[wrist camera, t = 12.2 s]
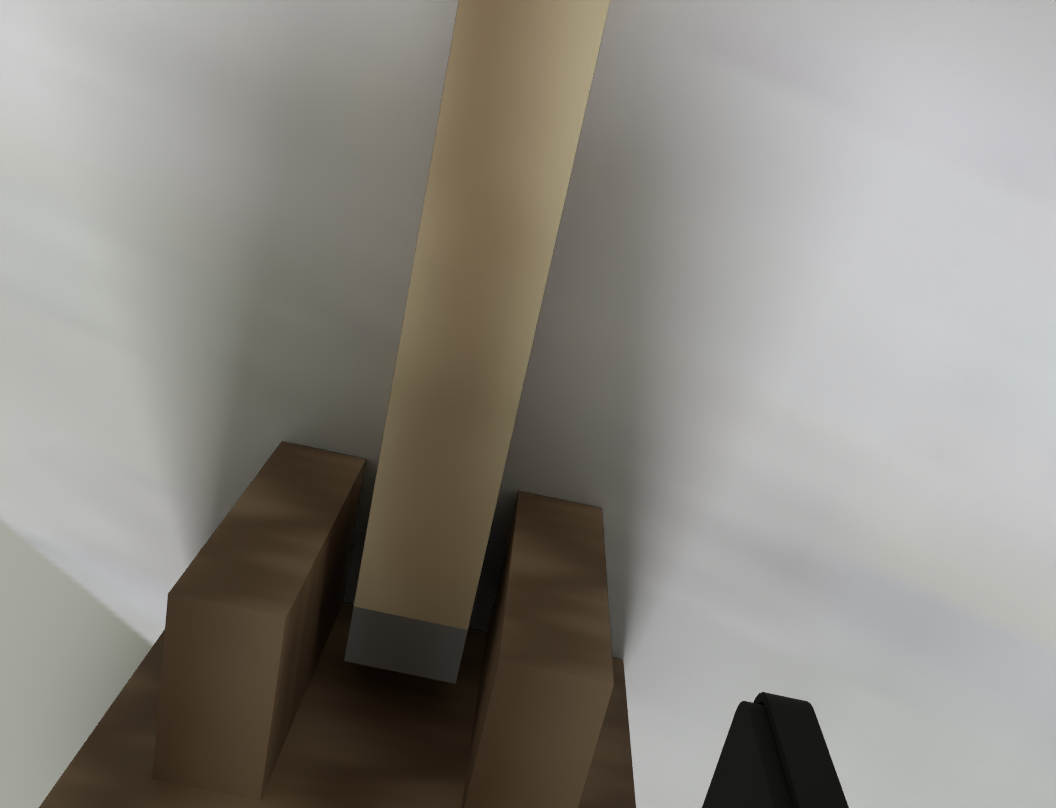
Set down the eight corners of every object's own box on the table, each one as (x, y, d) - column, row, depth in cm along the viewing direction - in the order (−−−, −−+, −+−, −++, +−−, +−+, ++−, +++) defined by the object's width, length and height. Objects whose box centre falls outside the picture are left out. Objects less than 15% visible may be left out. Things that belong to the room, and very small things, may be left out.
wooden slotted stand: (663, 521, 34) (738, 897, 19) (610, 702, 36) (638, 1156, 21) (218, 428, 33) (-73, 737, 18) (199, 619, 36) (-68, 1025, 21)
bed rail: (619, -68, 27) (632, -100, 22) (474, 582, 35) (455, 683, 29) (501, -96, 27) (482, -135, 22) (380, 562, 35) (344, 660, 29)
